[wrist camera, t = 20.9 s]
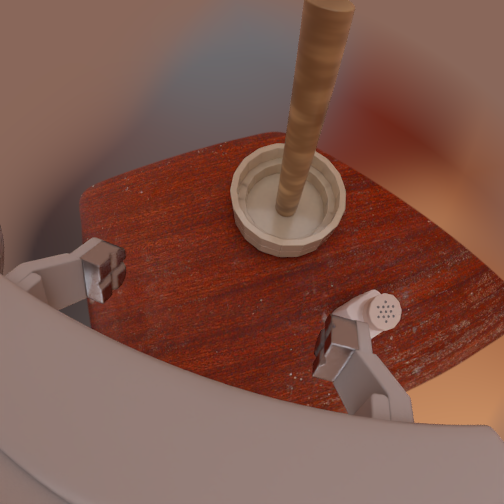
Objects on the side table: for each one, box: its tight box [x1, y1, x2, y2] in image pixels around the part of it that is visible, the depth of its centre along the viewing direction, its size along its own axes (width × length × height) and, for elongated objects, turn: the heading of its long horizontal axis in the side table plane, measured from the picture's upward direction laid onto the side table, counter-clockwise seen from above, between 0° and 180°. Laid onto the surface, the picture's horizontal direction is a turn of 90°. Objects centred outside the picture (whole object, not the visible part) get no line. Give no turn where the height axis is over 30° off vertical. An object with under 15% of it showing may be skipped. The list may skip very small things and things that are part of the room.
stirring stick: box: [275, 0, 355, 217], centre depth 23 cm, size 3×3×26 cm
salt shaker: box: [332, 290, 401, 339], centre depth 27 cm, size 4×4×10 cm
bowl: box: [230, 144, 346, 257], centre depth 33 cm, size 12×13×5 cm
